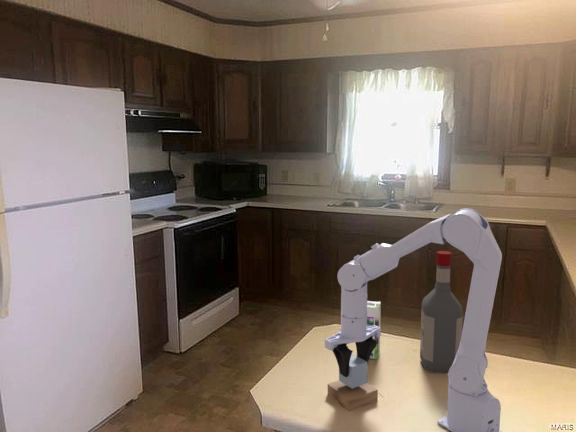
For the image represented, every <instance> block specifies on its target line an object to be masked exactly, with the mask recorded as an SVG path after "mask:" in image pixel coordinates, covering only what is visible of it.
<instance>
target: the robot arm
mask: <svg viewBox="0 0 576 432" xmlns="http://www.w3.org/2000/svg"><path fill="white" fill-rule="evenodd" d="M430 243H433V244H439V245H444V244H445V243H448V244H449V245H451V246H452V247H454V248H456V249H457V250H459V251H461V252H462V253H464V254H465V256H467V258H468V259H469V260H470V261H471V262H472V264H473V269H472V275H471V279H470V286H469V291H468V295H467V296H468V297H467V303H466V308H465V312H464V313H465V314H464V318H463V320H464V321H463V324H462V335H461V341H460V345H459V349H458V351H457V352H456V355H455V359H454V362H453V364H452V366H451V367H450V369H449V372H448V373H447V377H448V387H447V388H448V389H447V390H448V391H447V392H448V393H447V394H448V395H447V408H446V409H447V413H446V414H447V415H445V416H443V417H441V418H439V419H437V423H438V424H439V425H440V426H442V427H443V428H445V429H447V430H449V431H450V432H502V430H500V425H501V411H502V410H501V402H500V400H499V399H498V398H497V397H496V396H494V395H493V394H492V393H491V392H490V390H489V389H488V384H487V382H486V380H485V378H484V377H485V373H486V369H487V368H488V364H489V363H488V362H489V361H488V357H487V354H486V346H487V339H488V334H489V330H490V329H489V328H490V323H491V317H492V312H493V308H494V302H495V298H496V297H495V296H496V291H497V286H498V280H499V277H500V270H501V265H502V259H503V253H502V251H501V249H500V247H499V244H498V243H497V239H496V238H495V236H494V234H493V232H492V230H491V226H490V223H489V221H488V220H487V219H486V218H485V217H484V216H483V215H481V214H480V212H478V210H475V209H472V208H469V207H465V208H461V209H458V210H456V211H455V212H454V213H453V214H452V213H449V214H446V215H444V216H441V217H439V218H436V219H434V220H432V221H430V222H428V223H426V224H425V225H423V226H421V227H420V228H417V229H416V230H415V231H412V232H411V233H410V234H408V235H406V236H405V237H403V238H401V239H399V240H398V241H397V242H395V243H393V244H389V243H385V242H382V243H380V244H379V243H377V242H376V243H375V244H373V245H371V249H370V250H367V251H366V252H365V253H363V254H361V255H360V254H357V255H355V256H354V257H353V259H352V260H350V261H348V262H346V263H345V264H343V266H341V267H340V268H339V270H338V271H337V275H336V276H337V281H338V284H339V285H340V287H341V294H340V328H339V331H338V332H337V333H335V334H333V335H331V336H329V337H327V338H325V339H324V348H326V349H327V350H329V351H332V353H333V354H334V357H335V359H336V363H337V365H338V371H339V370H340V374H341V375H343V376H344V377H348V375H349V363H350V358H351V355H353V352H354V351H353V350H352V349H350V348H349V346H348V344H352V343H355V347H356V356H358V357H359V358H361V359H363V360H365V361H367V365H368V363H369V361H370V359H371V358H370V356H371V353H372V351H373V350H374V348H375V347H376V345H377V341H376V340H374V339H373V336H377V337H378V336H380V337H381V336H382V335H381V333H382V327H381V326H380V327H378V326H375V325H374V326H369V327H367V301H368V283H369V281H373V280H375V279H377V278H379V277H381V276H382V275H384V274H387V273H389V272H390V271H392V270H394V269H396V268H397V267H398V265H399V261H400V259H401V258H402V257H404V256H406V255H408V254H411V253H413V252H414V251H416V250H419V249H420V248H422V247H424V246H427V245H428V244H430Z"/></svg>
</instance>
